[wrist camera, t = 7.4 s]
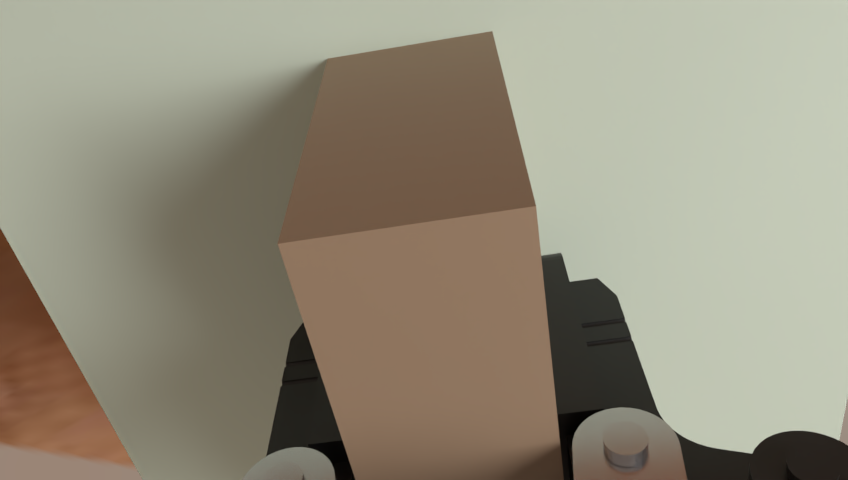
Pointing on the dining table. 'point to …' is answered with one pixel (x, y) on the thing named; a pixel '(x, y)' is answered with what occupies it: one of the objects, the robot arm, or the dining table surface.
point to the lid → (429, 215)
